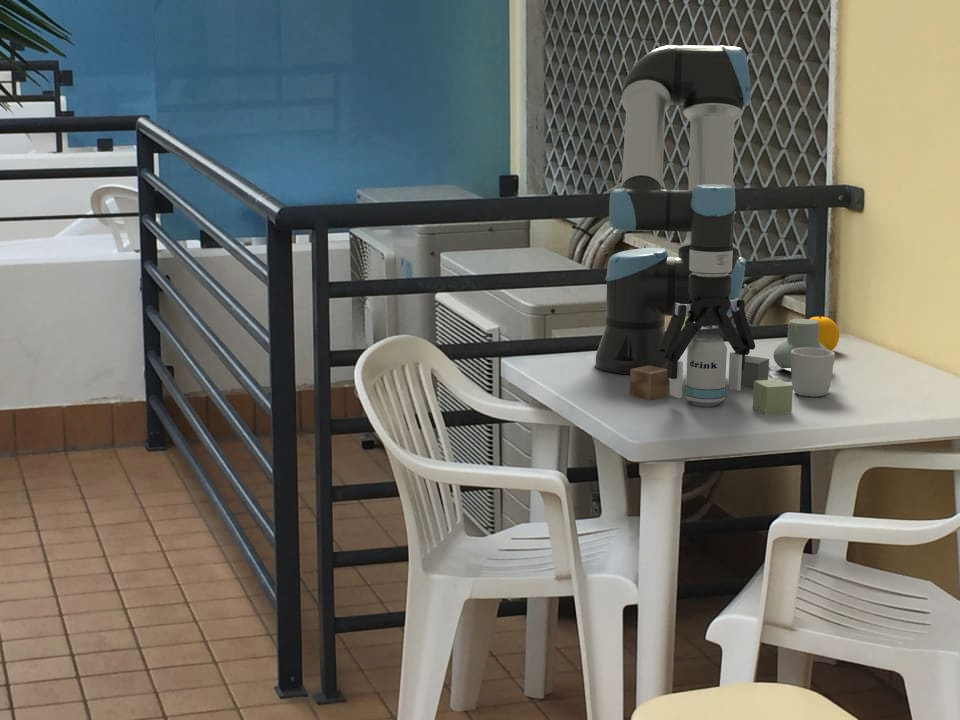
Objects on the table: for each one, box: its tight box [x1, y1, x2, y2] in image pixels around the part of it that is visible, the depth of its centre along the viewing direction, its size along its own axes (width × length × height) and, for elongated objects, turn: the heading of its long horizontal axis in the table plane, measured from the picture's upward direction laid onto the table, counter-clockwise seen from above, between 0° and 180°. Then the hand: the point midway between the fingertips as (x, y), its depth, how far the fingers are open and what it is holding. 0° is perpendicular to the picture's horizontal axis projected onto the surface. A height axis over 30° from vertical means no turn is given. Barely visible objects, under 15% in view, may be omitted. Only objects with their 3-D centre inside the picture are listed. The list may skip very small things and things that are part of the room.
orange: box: [809, 315, 840, 351], centre depth 306 cm, size 8×8×8 cm
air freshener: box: [772, 318, 828, 369], centre depth 288 cm, size 11×8×10 cm
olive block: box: [752, 378, 794, 415], centre depth 259 cm, size 5×5×5 cm
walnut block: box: [629, 365, 670, 401], centre depth 269 cm, size 5×5×5 cm
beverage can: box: [685, 334, 728, 408], centre depth 263 cm, size 7×7×12 cm
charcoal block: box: [741, 355, 770, 390], centre depth 277 cm, size 5×5×5 cm
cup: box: [790, 347, 836, 398], centre depth 271 cm, size 11×8×8 cm
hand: (705, 392), depth 263 cm, fingers open, 12 cm apart
